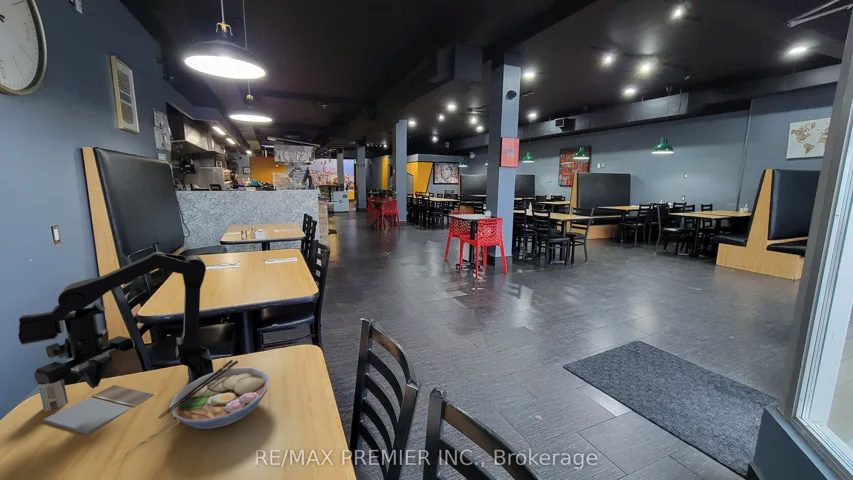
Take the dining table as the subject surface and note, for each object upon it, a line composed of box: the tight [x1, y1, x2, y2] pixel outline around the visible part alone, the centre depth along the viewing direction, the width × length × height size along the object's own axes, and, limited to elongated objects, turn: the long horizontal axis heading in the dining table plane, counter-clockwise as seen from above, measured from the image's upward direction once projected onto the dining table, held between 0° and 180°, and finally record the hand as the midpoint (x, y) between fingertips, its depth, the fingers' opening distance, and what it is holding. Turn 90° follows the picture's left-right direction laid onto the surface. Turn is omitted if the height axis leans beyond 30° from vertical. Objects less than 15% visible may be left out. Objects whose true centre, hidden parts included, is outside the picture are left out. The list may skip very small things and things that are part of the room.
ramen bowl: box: [157, 359, 270, 429], centre depth 93 cm, size 25×23×8 cm
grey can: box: [37, 379, 69, 412], centre depth 94 cm, size 5×5×12 cm
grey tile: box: [42, 397, 132, 435], centre depth 92 cm, size 16×10×1 cm, turn 74°
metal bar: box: [91, 384, 155, 408], centre depth 100 cm, size 16×6×2 cm, turn 74°
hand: (94, 387), depth 93 cm, fingers closed
